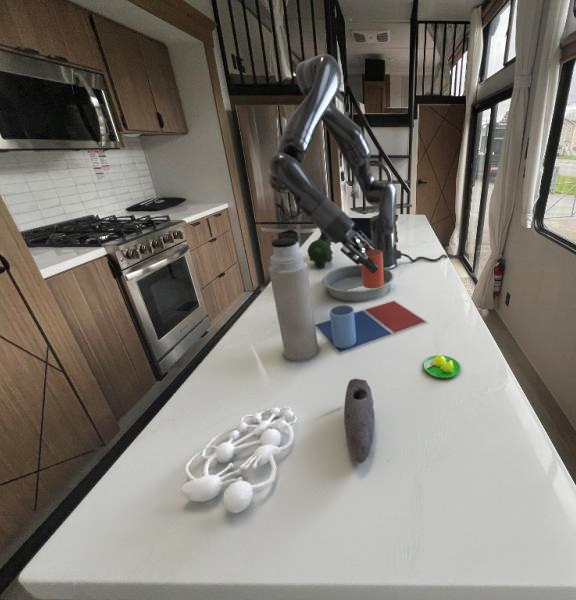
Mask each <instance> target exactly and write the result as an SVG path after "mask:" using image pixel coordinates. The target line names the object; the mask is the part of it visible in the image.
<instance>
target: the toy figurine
mask: <svg viewBox="0 0 576 600" xmlns="http://www.w3.org/2000/svg"><path fill="white" fill-rule="evenodd" d="M319 230H320V229H319ZM331 246H332V241H331V240H330V239H329V238H328V237H327V236H326V235H325V234H324V233H323V232H322V231H321V230H320V239H316V240H314V241H311V243H310V244H309V246H308V248H307V255H308V257H309V260H310V261H312V262H313V263H314V267H316V268H318V269H322V268H323V269H324V268H325V267H326V262H327V263H330V262H332V260H333V255H332V254H334V253H333V250H332V247H331Z"/></svg>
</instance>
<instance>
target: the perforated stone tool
mask: <svg viewBox="0 0 576 600" xmlns="http://www.w3.org/2000/svg"><path fill="white" fill-rule="evenodd" d="M345 392H346V393H345V397H344V409H343V420H344V422H343V423H344V430H345V436H346V437H345V438H346V441H347V446H348V449H349V452H350V454H351V456H352V458H353V460H355V462H356V463H357V464H359V465H361V464H363V463H364V462H365V461H366V460H367V458H368V456H369V454H370V451H371V448H372V446H373V440H374V435H375V409H374V398H373V394H372V390H371V386H370V385H369V383H368V382H367V380H366V379H360V378H353V379H349V381H348V383H347V386H346V389H345Z"/></svg>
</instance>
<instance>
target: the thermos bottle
mask: <svg viewBox="0 0 576 600" xmlns="http://www.w3.org/2000/svg"><path fill="white" fill-rule="evenodd" d="M271 246H272V251H273V254H272V255H271V256H270V258H269V259H270V261H269V262H270V264H271V265H270V266H269V267H268V273H269V277H270V283H271V288H272V294H273V300H274V304H275V310H276V314H277V318H278V319H277V321H278V324H279V330H280V336H281V342H282V346H283V352H284V356H285V358H287V359H288V360H291V361H304V360H308V359H310V358H312V357H314V356H315V355H317V353H318V351H319V345H318V344H319V343H318V337H317V331H316V330H317V329H316V323H315V315H314V307H313V301H312V293H311V285H310V277H309V271H308V264H307V262H306V261H304V256H303V253H302V252H301V251H300V252H298V251H297V246H296V239H293V238H281V239H279V238H276V239H274V240H272V241H271Z"/></svg>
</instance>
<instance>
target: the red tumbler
mask: <svg viewBox="0 0 576 600" xmlns="http://www.w3.org/2000/svg"><path fill="white" fill-rule="evenodd" d="M364 252H365V253H366V255H367V256H368V258H370V259H371V260H372V261H373V262H374V263H375V264H376V265H377V266H378V267H379V268H378V270H377V271H376V272H375V273H372V272H371V271H370V270H368V269H367V268H366V267H365V266H364V265H363V264H360V265H361V266H362V283H363V286H362V287H364V288H366V289H372V288H379V287H381V286H383V284H384V281H383V252H382V251H380V250H365V251H364Z"/></svg>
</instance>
